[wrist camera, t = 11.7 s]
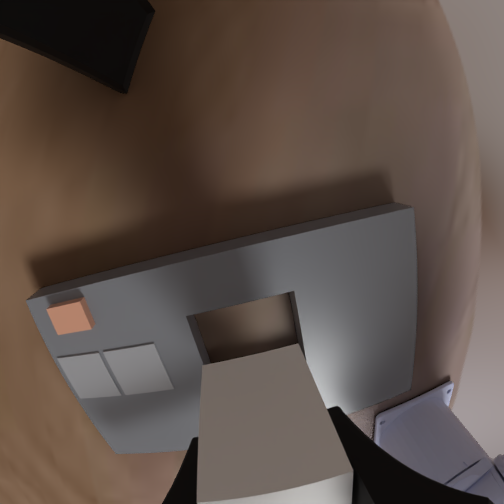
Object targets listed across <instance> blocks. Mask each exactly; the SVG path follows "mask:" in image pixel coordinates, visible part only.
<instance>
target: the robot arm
mask: <svg viewBox="0 0 504 504" xmlns="http://www.w3.org/2000/svg"><path fill="white" fill-rule="evenodd" d="M453 386H454V383H453V382H452V381H449V382H447V383H445V384H443V385H441V386H439V387H437V388H435V389H433V390H431V391H429V392H427V393H425V394H423V395H421V396H419V397H416V398H414V399H412V400H410V401H408V402H405V403H403V404H401V405H399V406H396V407H394V408H391V409H389V410H387V411H384V412H382V413H380V414H378V415H377V416H376V420H375V433H374V442H373V441H372V440H371V439H370V438H369V437H368V436H367V435H365V434H364V433H363V432H362V431H361V430H360V429H359V428H358V427H357V426H356V425H355V424H354V423H353V422H352V421H351V420H350V418H349V417H348V416H347V415H346V414H345V413H344V412H343V410H342V409H341V408H340V407H339V406H334V407H331V408H328V409H327V411H328V413H329V415H330V418H331V420H332V422H333V425H334V427H335V429H336V432H337V434H338V436H339V438H340V441H341V443H342V445H343V448H344V450H345V452H346V455H347V457H348V459H349V462H350V464H351V466H352V469H353V490H352V504H504V455H501V454H500V455H498V456H497V457H496V458H495V459H492V458H490V457H489V456H488V455H487V453H486V452H485V451H484V450H483V448H482V447H481V446H480V445H479V444H478V442H477V441H476V440H475V439H474V438H473V436H472V435H471V434H470V433H469V431H468V430H467V429H466V428H465V427H464V425H463V424H462V423H461V422H460V421H459V419H458V418H457V417H456V416H455V415H454V413H453V412H452V411H451V410H450V409H449V407H448V406H449V402H450V398H451V395H452V391H453ZM197 465H198V437H193V438H192V440H191V442H190V445H189V448H188V450H187V453H186V456H185V458H184V460H183V463H182V465H181V468H180V470H179V472H178V474H177V476H176V478H175V480H174V482H173V485H172V486H171V488H170V490H169V492H168V494H167V496H166V497H165V499H164V501H163V503H162V504H197Z"/></svg>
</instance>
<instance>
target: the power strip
mask: <svg viewBox="0 0 504 504" xmlns="http://www.w3.org/2000/svg"><path fill="white" fill-rule="evenodd" d="M287 292H289V295H290V300H291V305H292V311H293V316H294V322H295V327H296V333H297V338H298V344H299V346H300V348H301V351H302V353H303V355H304V358H305V360H306V362H307V364H308V367H309V369H310V371H311V374H312V376H313V378H314V381H315V383H316V385H317V388H318V390H319V392H320V394H321V397H322V399H323V401H324V404H325V406H326V408H327V409H328V408H331V407H334V406H339V407H340V408H341V409H342V410H343V412H344V413H345V414H346V415H347V414H350V413H353V412H356V411H359V410H362V409H364V408H367V407H370V406H372V405H375V404H378V403H380V402H383V401H385V400H388V399H390V398H393V397H395V396H397V395H400V394H402V393H404V392H407V391H409V390H411V384H412V376H413V367H414V356H415V343H416V326H417V247H416V230H415V217H414V207H411V206H407V205H403V204H399V203H395V202H394V203H390V204H385V205H381V206H376V207H371V208H367V209H362V210H358V211H353V212H349V213H344V214H340V215H335V216H331V217H327V218H322V219H318V220H313V221H309V222H305V223H300V224H296V225H292V226H287V227H283V228H279V229H275V230H270V231H266V232H262V233H257V234H253V235H249V236H245V237H241V238H236V239H232V240H228V241H224V242H220V243H216V244H212V245H207V246H203V247H199V248H195V249H191V250H187V251H183V252H179V253H175V254H171V255H167V256H163V257H159V258H155V259H151V260H147V261H143V262H139V263H135V264H131V265H127V266H123V267H119V268H115V269H112V270H108V271H104V272H100V273H96V274H92V275H88V276H85V277H81V278H77V279H73V280H69V281H66V282H62V283H58V284H54V285H51V286H47V287H43V288H41V289H40V290H38V291H37V292H36V293H34V294H33V295H32V296H31V297H30V298H28V299H27V300H26V302H27V305H28V307H29V309H30V312H31V314H32V316H33V318H34V321H35V323H36V325H37V327H38V329H39V331H40V334H41V336H42V338H43V340H44V342H45V344H46V346H47V348H48V350H49V352H50V353H51V355H52V357H53V359H54V361H55V363H56V365H57V366H58V368H59V370H60V372H61V374H62V375H63V377H64V379H65V380H66V382H67V384H68V385H69V387H70V389H71V390H72V392H73V394H74V395H75V397H76V398H77V400H78V402H79V403H80V405H81V406H82V408H83V409H84V411H85V412H86V414H87V415H88V417H89V418H90V420H91V421H92V422H93V424H94V425H95V427H96V428H97V429H98V431H99V432H100V434H101V435H102V436H103V438H104V439H105V440H106V442H107V443H108V444H109V445H110V447H111V448H112V449H113V451H114V452H115V453H116V454H130V453H155V452H169V451H180V450H188V448H189V445H190V442H191V440H192V438H193V437H199V415H200V396H201V379H202V365H207V364H211V362H210V359H209V356H208V353H207V351H206V348H205V345H204V342H203V339H202V336H201V333H200V330H199V328H198V325H197V322H196V319H195V316H194V314H198V313H203V312H207V311H212V310H216V309H220V308H225V307H229V306H233V305H238V304H242V303H246V302H250V301H254V300H259V299H263V298H267V297H271V296H275V295H279V294H283V293H287Z"/></svg>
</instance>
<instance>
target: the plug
mask: <svg viewBox="0 0 504 504" xmlns="http://www.w3.org/2000/svg"><path fill="white" fill-rule="evenodd" d="M352 490H353V469H352V466H351V464H350V462H349V459H348V457H347V455H346V452H345V450H344V448H343V445H342V443H341V441H340V438H339V436H338V434H337V432H336V429H335V427H334V425H333V422H332V420H331V418H330V415H329V413H328V411H327V408H326V406H325V404H324V401H323V399H322V397H321V394H320V392H319V390H318V388H317V385H316V383H315V381H314V378H313V376H312V374H311V371H310V369H309V367H308V364H307V362H306V360H305V358H304V355H303V353H302V351H301V348H300V346H299V344H294V345H290V346H286V347H282V348H278V349H274V350H270V351H266V352H262V353H258V354H254V355H249V356H245V357H240V358H236V359H231V360H227V361H222V362H217V363H212V364H207V365H202V379H201V396H200V415H199V437H198V465H197V504H352Z"/></svg>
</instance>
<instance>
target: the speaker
mask: <svg viewBox="0 0 504 504" xmlns="http://www.w3.org/2000/svg"><path fill="white" fill-rule="evenodd" d="M154 13H155V10H154V9H153V7H152V6H151V4H150V3H149V2H148V0H0V38H1V39H4V40H6V41H9V42H11V43H14V44H16V45H19V46H21V47H23V48H26V49H28V50H31V51H33V52H35V53H38V54H40V55H42V56H45V57H47V58H49V59H51V60H54V61H56V62H58V63H60V64H62V65H64V66H67V67H69V68H71V69H73V70H75V71H77V72H79V73H81V74H84V75H86V76H88V77H90V78H92V79H94V80H96V81H98V82H100V83H102V84H104V85H106V86H108V87H110V88H112V89H114V90H116V91H118V92H119V93H127V92H128V88H129V85H130V82H131V78H132V75H133V72H134V68H135V65H136V62H137V59H138V56H139V53H140V50H141V47H142V44H143V42H144V39H145V36H146V33H147V31H148V28H149V25H150V23H151V20H152V18H153V15H154Z"/></svg>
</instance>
